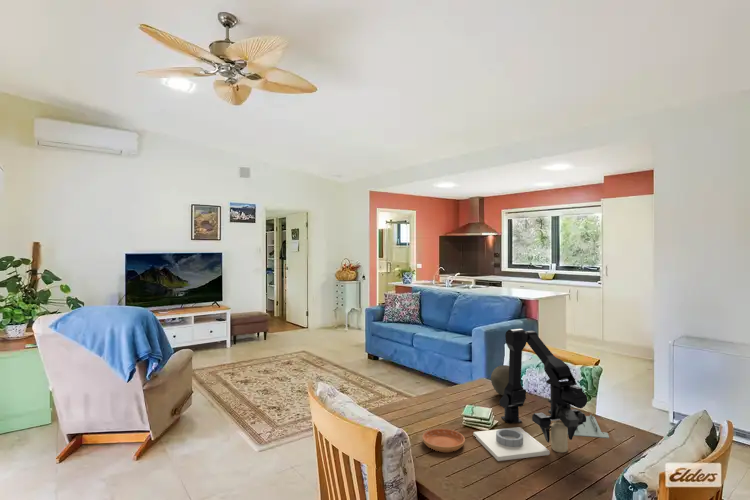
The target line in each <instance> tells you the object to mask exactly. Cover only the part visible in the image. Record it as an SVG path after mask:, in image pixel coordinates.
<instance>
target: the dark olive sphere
mask: <svg viewBox="0 0 750 500" xmlns="http://www.w3.org/2000/svg"><path fill="white" fill-rule="evenodd" d="M490 382H491V384H492V387H493V389H494V391H495V392H496V393H498V394H499V395H501V396H502V397H503V396H504V390H505V387H506V386H507V384H508V382H509V365H504V364H503V365H502V364H501V365H498V366H497V367H495V368H494V369H493V371H492V372H491V375H490Z"/></svg>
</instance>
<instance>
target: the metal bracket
mask: <svg viewBox="0 0 750 500" xmlns="http://www.w3.org/2000/svg"><path fill="white" fill-rule="evenodd" d="M585 416H586V422H583V424H581V425H579V426H578V427H577V429H576V431H575V433H574V435H573V437H589V438H600V439H610V436H609V433H608V432H605V431H603V432H602V430H601V428H600V426H599V423H598V421H597V419H596V417H595V416H593V415H592V414H589V415H585ZM567 435H568V429H567Z"/></svg>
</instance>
